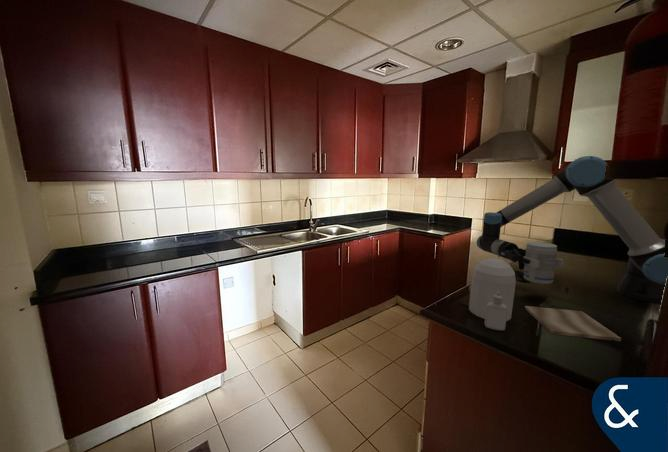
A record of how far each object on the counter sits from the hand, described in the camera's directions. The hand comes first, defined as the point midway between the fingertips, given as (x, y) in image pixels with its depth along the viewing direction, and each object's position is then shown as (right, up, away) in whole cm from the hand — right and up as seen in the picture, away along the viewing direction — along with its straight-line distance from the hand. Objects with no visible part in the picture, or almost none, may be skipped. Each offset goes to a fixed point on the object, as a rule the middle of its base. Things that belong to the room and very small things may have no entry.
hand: (550, 264), depth 100 cm
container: (-25, -17, -4) cm, 31 cm away
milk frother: (+14, -12, +29) cm, 34 cm away
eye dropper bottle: (-30, -19, -14) cm, 38 cm away
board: (-3, -18, -11) cm, 22 cm away
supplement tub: (-1, -7, +6) cm, 9 cm away
